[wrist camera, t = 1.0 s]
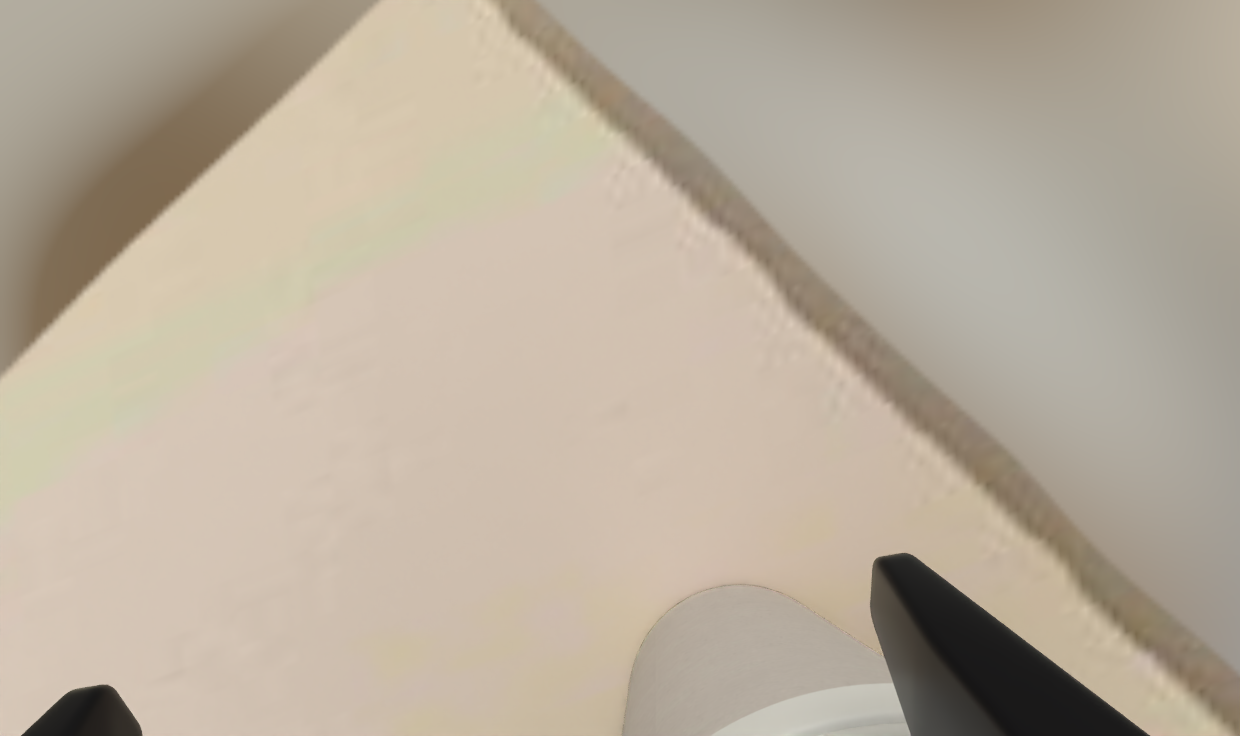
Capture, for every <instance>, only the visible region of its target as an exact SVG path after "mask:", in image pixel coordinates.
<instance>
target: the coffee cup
mask: <svg viewBox="0 0 1240 736" xmlns="http://www.w3.org/2000/svg"><path fill="white" fill-rule="evenodd" d="M622 736H911V734H910V731H909V728H908V725H907V723H906V720H905V717H904V714H903V711H902V708H901V705H900V702H899V699H898V696H897V693H896V690H895V687H894V684H893V681H892V678H891V675H890V672H889V669H888V666H887V663H886V660H885V657H883V656H882V655H880V654H878V653H877V652H875V651H874V650H872V649H871V648H869V647H867V646H866V645H864V644H863V643H861V642H860V641H858V640H857V639H855V638H853V637H852V636H850V635H849V634H847V633H846V632H844V631H843V630H841V629H840V628H838V627H836V626H835V625H833V624H832V623H830V622H829V621H827V620H826V619H824V618H823V617H821V616H819V615H818V614H816V613H815V612H813V611H812V610H810V609H809V608H807V607H805V606H804V605H802V604H801V603H799V602H798V601H796V600H794V599H792V598H790V597H788V596H786V595H784V594H782V593H779V592H777V591H774V590H771V589H767V588H763V587H758V586H751V585H728V586H721V587H716V588H712V589H708V590H705V591H702V592H700V593H697V594H695V595H693V596H691V597H689V598H687V599H685V600H683V601H682V602H680V603H679V604H677V605H676V606H674V607H673V608H672V609H670V610H669V611H668V612H667V613H666V614H665V615H664V616H663V617H662V618H661V619H660V620H659V621H658V622H657V623H656V624H655V625H654V627H653V628H652V629H651V630H650V632H649V633H648V635H647V636H646V638H645V640H644V641H643V643H642V645H641V647H640V649H639V651H638V654H637V656H636V659H635V662H634V665H633V668H632V672H631V677H630V683H629V689H628V696H627V703H626V710H625V717H624V724H623V731H622Z"/></svg>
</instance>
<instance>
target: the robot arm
mask: <svg viewBox="0 0 1240 736" xmlns="http://www.w3.org/2000/svg"><path fill="white" fill-rule="evenodd" d="M870 609H871V616H872V620H873V624H874V627H875V630H876V633H877V636H878V639H879V642H880V645H881V648H882V651H883V654H884V657H885V660H886V663H887V666H888V669H889V672H890V675H891V678H892V681H893V684H894V687H895V690H896V693H897V696H898V699H899V702H900V705H901V708H902V711H903V714H904V717H905V720H906V723H907V725H908V728H909V731H910V734H911V736H1150V735H1148V734H1147V733H1146V732H1144V731H1143V730H1142V729H1140V728H1139V727H1138V726H1136V725H1135V724H1134V723H1132V722H1131V721H1130V720H1129V719H1127V718H1126V717H1125V716H1123V715H1122V714H1121V713H1119V712H1118V711H1117V710H1115V709H1114V708H1113V707H1111V706H1110V705H1109V704H1108V703H1106V702H1105V701H1104V700H1102V699H1101V698H1100V697H1098V696H1097V695H1096V694H1094V693H1093V692H1092V691H1090V690H1089V689H1088V688H1086V687H1085V686H1084V685H1083V684H1081V683H1080V682H1079V681H1077V680H1076V679H1075V678H1073V677H1072V676H1071V675H1069V674H1068V673H1067V672H1065V671H1064V670H1063V669H1062V668H1060V667H1059V666H1058V665H1056V664H1055V663H1054V662H1052V661H1051V660H1050V659H1048V658H1047V657H1046V656H1044V655H1043V654H1042V653H1040V652H1039V651H1038V650H1037V649H1035V648H1034V647H1033V646H1031V645H1030V644H1029V643H1027V642H1026V641H1025V640H1023V639H1022V638H1021V637H1019V636H1018V635H1017V634H1016V633H1014V632H1013V631H1012V630H1010V629H1009V628H1008V627H1006V626H1005V625H1004V624H1002V623H1001V622H1000V621H998V620H997V619H996V618H995V617H993V616H992V615H991V614H989V613H988V612H987V611H985V610H984V609H983V608H981V607H980V606H979V605H977V604H976V603H975V602H973V601H972V600H971V599H970V598H968V597H967V596H966V595H964V594H963V593H962V592H960V591H959V590H958V589H956V588H955V587H954V586H952V585H951V584H950V583H949V582H947V581H946V580H945V579H943V578H942V577H941V576H939V575H938V574H937V573H935V572H934V571H933V570H931V569H930V568H929V567H927V566H926V565H925V564H924V563H922V562H921V561H920V560H918V559H917V558H916V557H914V556H913V555H910V554H908V553H900V554H894V555H888V556H882V557H878V558H877V559H876V560H875V561H874V563H873V568H872V584H871V600H870ZM21 736H142V731H141V728H140V725H139V723H138V722H137V720H136V719H135V717H134V716H133V714H132V713H131V711H130V710H129V709H128V707H127V706H126V704H125V703H124V701H123V700H122V698H121V697H120V696H119V694H118V693H117V691H116V690H115V689H114V688H113V687H111V686H109V685H97V686H91V687H85V688H79V689H75V690H72V691H70V692H68V693H67V694H65V695H64V696H63V697H62V698H61V699H60V700H59V701H58V702H56V703H55V704H54V705H53V706H52V707H51V708H50V709H49V710H48V711H47V712H46V713H45V714H44V715H43V716H42V717H41V718H39V719H38V720H37V721H36V722H35V723H34V724H33V725H32V726H31V727H30V728H29V729H28V730H27V731H26V732H25V733H24V734H22V735H21Z"/></svg>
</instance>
